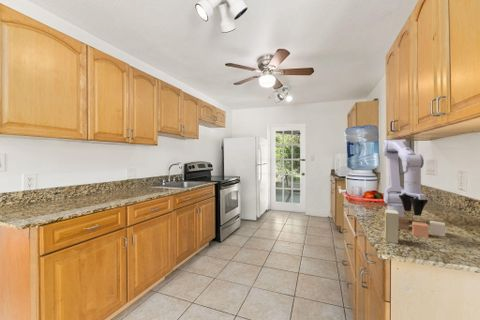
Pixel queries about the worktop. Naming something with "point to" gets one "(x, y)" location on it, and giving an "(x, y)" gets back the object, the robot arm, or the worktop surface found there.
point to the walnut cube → (403, 223)
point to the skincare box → (391, 226)
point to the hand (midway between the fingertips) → (412, 213)
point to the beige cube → (437, 228)
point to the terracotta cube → (420, 229)
